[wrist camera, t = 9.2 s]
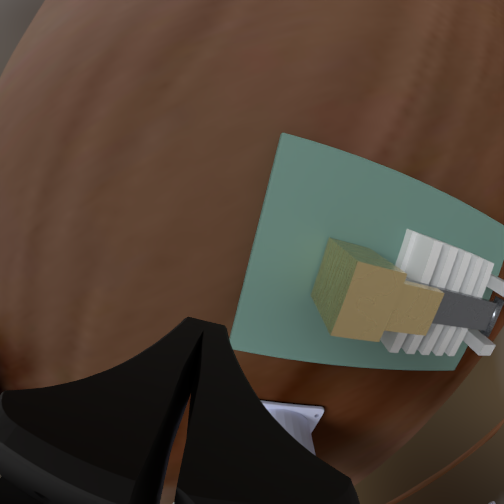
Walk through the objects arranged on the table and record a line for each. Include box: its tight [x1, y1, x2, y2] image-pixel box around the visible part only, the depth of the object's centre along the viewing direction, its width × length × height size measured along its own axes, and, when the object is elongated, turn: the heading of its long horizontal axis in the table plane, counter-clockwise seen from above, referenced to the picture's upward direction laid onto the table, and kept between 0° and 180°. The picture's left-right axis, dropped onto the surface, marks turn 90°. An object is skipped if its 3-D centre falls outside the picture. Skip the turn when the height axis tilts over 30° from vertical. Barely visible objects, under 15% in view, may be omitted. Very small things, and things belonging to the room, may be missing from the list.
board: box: [229, 133, 504, 371], centre depth 17 cm, size 15×23×6 cm, turn 76°
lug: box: [311, 237, 445, 342], centre depth 16 cm, size 4×6×5 cm, turn 76°
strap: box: [405, 279, 504, 337], centre depth 16 cm, size 3×12×1 cm, turn 76°
